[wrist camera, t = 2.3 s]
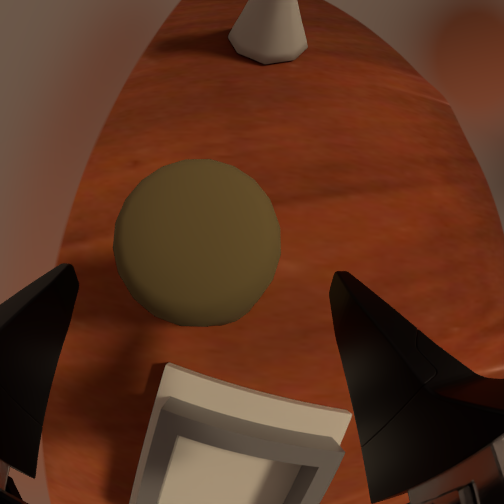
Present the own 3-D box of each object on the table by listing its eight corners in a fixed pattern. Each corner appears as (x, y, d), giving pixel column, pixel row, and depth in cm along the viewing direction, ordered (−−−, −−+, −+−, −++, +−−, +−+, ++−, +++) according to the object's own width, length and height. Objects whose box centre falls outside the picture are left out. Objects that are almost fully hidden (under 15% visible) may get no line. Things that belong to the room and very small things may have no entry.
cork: (158, 315, 17) (64, 317, 7) (176, 222, 19) (119, 121, 8) (254, 333, 18) (289, 364, 7) (269, 237, 19) (315, 145, 8)
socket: (277, 546, 14) (284, 572, 11) (129, 511, 14) (116, 535, 10) (346, 410, 17) (368, 426, 13) (169, 362, 17) (155, 373, 13)
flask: (270, 18, 24) (282, -56, 14) (319, 51, 23) (347, -29, 13) (214, 38, 23) (213, -47, 13) (263, 75, 22) (278, -22, 12)
